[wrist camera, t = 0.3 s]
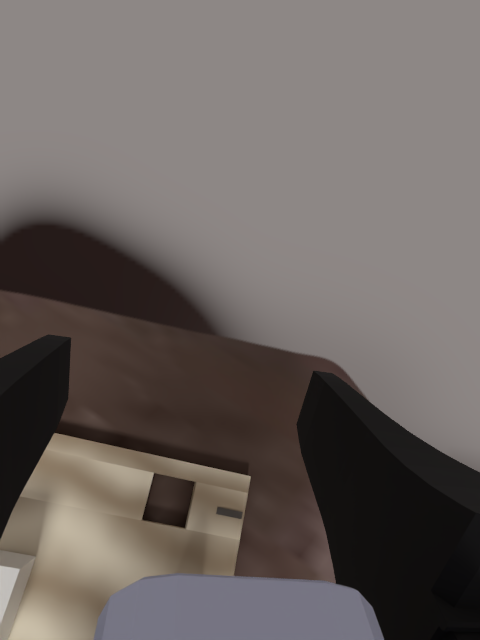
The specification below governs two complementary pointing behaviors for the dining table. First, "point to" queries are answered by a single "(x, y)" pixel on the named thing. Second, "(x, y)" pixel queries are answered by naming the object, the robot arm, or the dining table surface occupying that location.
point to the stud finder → (12, 586)
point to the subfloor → (111, 532)
